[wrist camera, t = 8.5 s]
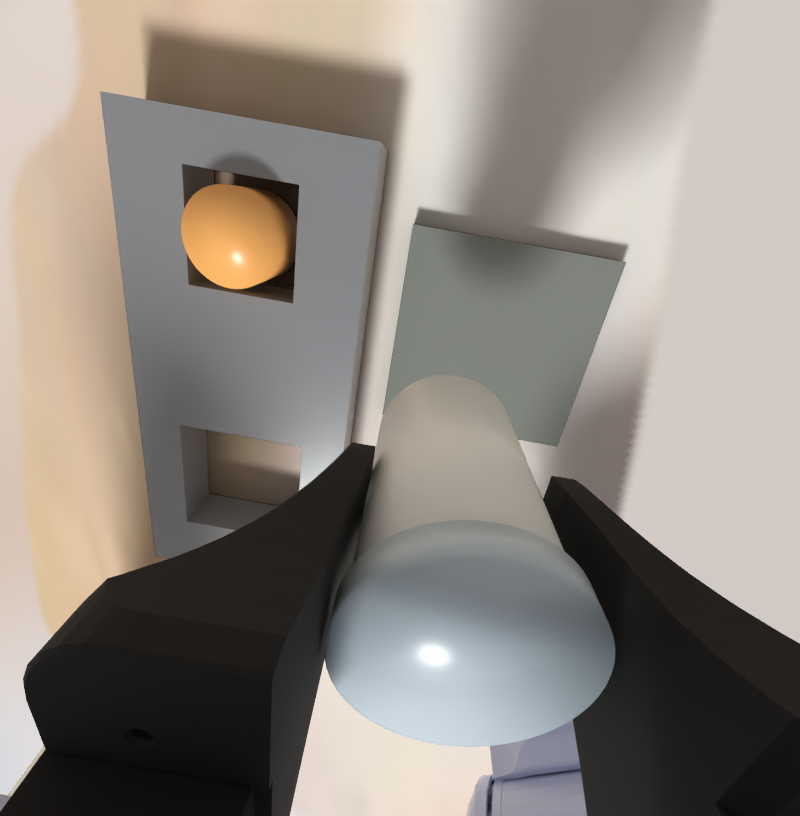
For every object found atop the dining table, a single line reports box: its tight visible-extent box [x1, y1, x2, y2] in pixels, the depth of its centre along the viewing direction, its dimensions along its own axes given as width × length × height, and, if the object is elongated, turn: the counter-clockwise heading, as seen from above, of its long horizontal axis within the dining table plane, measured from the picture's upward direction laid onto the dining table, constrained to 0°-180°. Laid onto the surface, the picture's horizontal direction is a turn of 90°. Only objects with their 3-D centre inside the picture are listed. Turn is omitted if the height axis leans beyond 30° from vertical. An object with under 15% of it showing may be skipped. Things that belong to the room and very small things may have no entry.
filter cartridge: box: [325, 375, 615, 747], centre depth 11 cm, size 5×5×8 cm
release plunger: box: [181, 184, 297, 289], centre depth 17 cm, size 4×4×3 cm
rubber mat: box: [383, 224, 626, 446], centre depth 20 cm, size 9×9×1 cm
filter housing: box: [100, 91, 388, 558], centre depth 21 cm, size 10×22×2 cm, turn 171°
